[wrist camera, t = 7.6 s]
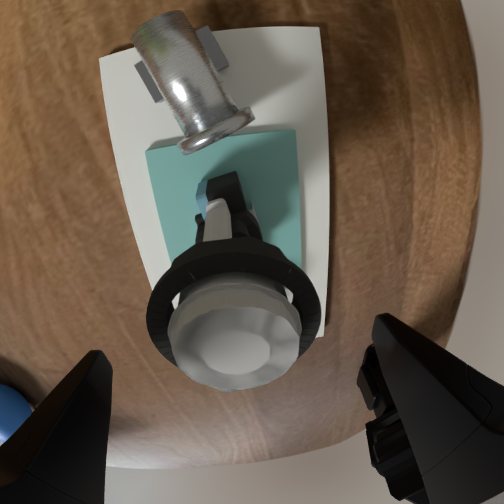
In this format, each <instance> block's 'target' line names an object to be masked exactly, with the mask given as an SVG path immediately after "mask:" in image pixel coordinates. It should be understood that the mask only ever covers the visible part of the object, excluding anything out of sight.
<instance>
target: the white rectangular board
mask: <svg viewBox="0 0 504 504" xmlns="http://www.w3.org/2000/svg"><path fill="white" fill-rule="evenodd" d="M212 34H213V35H214V37H215V39H216V41H217V42H218V44H219V46H220V48H221V49H222V51H223V53H224V55H225V56H226V58H227V60H228V62H229V67H228V68H226V69H224V70H221V71H219V72H218V73H219V74H220V76H221V78H222V80H223V82H224V84H225V85H226V87H227V89H228V91H229V93H230V95H231V97H232V98H233V100H234V102H235V104H236V106H237V108H238V110H239V109H241V108H244V107H247V106H250V108H251V110H252V112H253V114H254V116H255V120H254V121H252V122H251V123H249V124H248V125H246V126H244V127H243V128H241V129H239V130H238V131H236V132H234V133H232V134H230V135H228V136H227V137H225V138H223V139H221V140H219V141H217V142H215V143H213V144H211V145H209V146H207V147H205V148H203V149H201V150H199V151H196V152H194V153H192V154H189V155H186V156H183V155H182V153H181V151H180V149H179V148H178V146H177V143H178V142H179V141H181V140H182V139H184V138H185V135H184V133H183V132H182V130H181V128H180V126H179V124H178V123H177V121H176V119H175V117H174V116H173V114H172V112H171V110H170V109H169V107H168V105H167V103H166V102H165V101H163V102H161V103H155V102H154V100H153V98H152V96H151V95H150V93H149V91H148V89H147V87H146V86H145V84H144V82H143V80H142V79H141V77H140V75H139V73H138V72H137V70H136V68H135V66H134V65H135V64H136V63H138V62H140V61H141V60H142V59H141V57H140V56H139V54H138V52H137V50H136V49H135V47H134V48H131V49H127V50H124V51H121V52H117V53H114V54H111V55H108V56H105V57H102V58H99V62H100V71H101V79H102V87H103V94H104V101H105V107H106V113H107V119H108V125H109V130H110V136H111V141H112V146H113V151H114V156H115V160H116V165H117V169H118V174H119V178H120V182H121V186H122V190H123V194H124V198H125V202H126V206H127V210H128V213H129V217H130V221H131V224H132V228H133V231H134V235H135V238H136V241H137V245H138V248H139V251H140V254H141V258H142V261H143V264H144V267H145V270H146V273H147V276H148V279H149V282H150V285H151V288H152V291H153V289H154V287H155V285H156V283H157V282H158V280H159V279H160V278H161V277H162V275H163V274H164V273H165V272H166V271H167V270H168V269H169V268H170V267H171V265H172V262H173V260H174V259H175V258H176V257H178V256H179V255H180V254H182V253H183V252H184V251H186V250H187V249H189V248H190V247H191V246H193V245H194V244H195V239H196V233H197V228H198V227H197V224H196V222H195V215H197V214H200V213H201V211H200V209H199V206H198V204H197V201H196V192H197V188H198V183H201V182H204V181H207V180H209V179H212V178H215V177H218V176H221V175H224V174H227V173H230V172H233V171H236V172H237V175H238V178H239V181H240V184H241V187H242V191H243V195H244V199H245V203H246V206H247V209H248V210H251V209H252V207H251V203H250V201H252V204H253V207H254V210H255V213H256V217H257V220H258V224H259V226H260V230H261V234H262V238H263V241H264V242H267V243H269V244H272V245H275V246H277V247H278V248H280V250H281V251H282V252H283V254H284V255H285V256H286V258H287V259H289V260H290V261H292V262H293V263H294V264H296V265H297V266H298V267H299V268H300V269H302V270H303V271H304V273H305V274H306V275H307V276H308V277H309V279H310V280H311V282H312V283H313V286H314V288H315V290H316V292H317V294H318V297H319V300H320V303H321V316H322V317H321V324H320V327H319V330H318V333H317V335H316V337H315V338H317V337H322V336H323V335H324V323H325V310H326V295H327V277H328V254H329V145H328V122H327V105H326V91H325V78H324V67H323V57H322V48H321V39H320V31H319V27H296V26H282V27H255V28H241V29H230V30H221V31H213V32H212ZM284 288H285V291H286V295H287V298H288V301H289V302H290V303H292V298H293V293H292V292H291V291H290V290H289V289H287V288H286V287H285V286H284ZM179 296H180V292H179V293H178V294H177V295H176V297H175V298H174V299H173V301H172V303H173V307H174V309H175V308H177V307H178V302H179Z"/></svg>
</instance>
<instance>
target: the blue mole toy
mask: <svg viewBox="0 0 504 504" xmlns="http://www.w3.org/2000/svg"><path fill="white" fill-rule="evenodd" d="M31 413H32V410H31V407H30V405H29V404H28V402H27V401H26V399H25V398H24V397H23V396H22V395H21V394H20V393H19V392H18V391H16V390H15V389H13V388H11V387H9V386H6V385H1V384H0V441H2V442H5V441H6V440H7V439H8V438H9V437H10V436H11V435H12V434H13V433H14V432H15V431H16V430H17V429H18V428H19V427H20V426H21V425H22V424H23V423H24V421H25V420H26V419H27V418H28V417H29V416H30V415H31Z"/></svg>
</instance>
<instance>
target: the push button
mask: <svg viewBox="0 0 504 504" xmlns="http://www.w3.org/2000/svg"><path fill="white" fill-rule="evenodd" d="M196 201H197V204H198V206H199V209H200V211H201V213H200V214H197V215H195V222H196V224H197V227H198V228H197V233H196V239H195V244H194V245H193V246H191V247H190V248H189V249H187V250H186V251H184V252H183V253H182V254H180V255H179V256H178V257H176V258H175V259H174V260H173V262H172V265H171V267H170V268H169V269H168V270H167V271H166V272H165V273H164V274H163V275H162V277H161V278H160V279H159V280H158V282H157V283H156V285H155V287H154V289H153V291H152V293H151V296H150V300H149V303H148V307H147V313H146V323H147V329H148V332H149V335H150V337H151V340H152V342H153V343H154V345H155V346H156V348H157V349H158V350H159V352H160V353H161V354H162V355H163V356H164V357H165V358H166V359H167V360H169V361H170V362H171V363H173V364H174V365H176V366H177V367H178V368H179V369H181V370H182V371H183V372H184V373H185V374H187V375H188V376H189V377H190V378H192V379H193V380H194V381H196V382H198V383H201V384H205V385H208V386H211V387H214V388H217V389H225V390H227V389H246V388H254V387H257V386H259V385H263V384H267V383H269V382H270V381H272V380H274V379H276V378H278V377H280V376H281V375H282V374H284V373H286V372H287V370H288V369H289V368H290V366H291V365H292V364H293V363H294V362H295V360H296V359H298V358H299V357H300V356H301V355H302V354H303V353H304V352H305V351H306V350H307V349H308V348H309V346H310V345H311V344H312V342H313V341H314V339H315V337H316V335H317V333H318V330H319V327H320V324H321V317H322V316H321V303H320V300H319V297H318V294H317V292H316V290H315V288H314V286H313V283H312V282H311V280H310V279H309V277H308V276H307V275H306V274H305V273H304V271H303V270H302V269H300V268H299V267H298V266H297V265H296V264H294V263H293V262H292V261H290V260H289V259H287V258H286V256H285V255H284V254H283V252H282V251H281V250H280V248H278V247H277V246H275V245H272V244H269V243H267V242H264V241H263V238H262V234H261V230H260V226H259V224H258V220H257V217H256V213H255V210H254V207H253V204H252V201H250V203H251V207H252V209H251V210H248V209H247V206H246V203H245V199H244V195H243V191H242V187H241V184H240V181H239V178H238V175H237V172H236V171H233V172H230V173H227V174H224V175H221V176H218V177H215V178H212V179H209V180H207V181H204V182H201V183H198V188H197V192H196ZM284 286H285V287H286V288H287V289H289V290H290V291H291V292H292V293H293V298H292V303H290V302H289V301H288V298H287V295H286V291H285V288H284ZM179 292H180V296H179V302H178V307H177V308H175V309H174V307H173V303H172V301H173V299H174V298H175V297H176V295H177V294H178V293H179Z"/></svg>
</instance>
